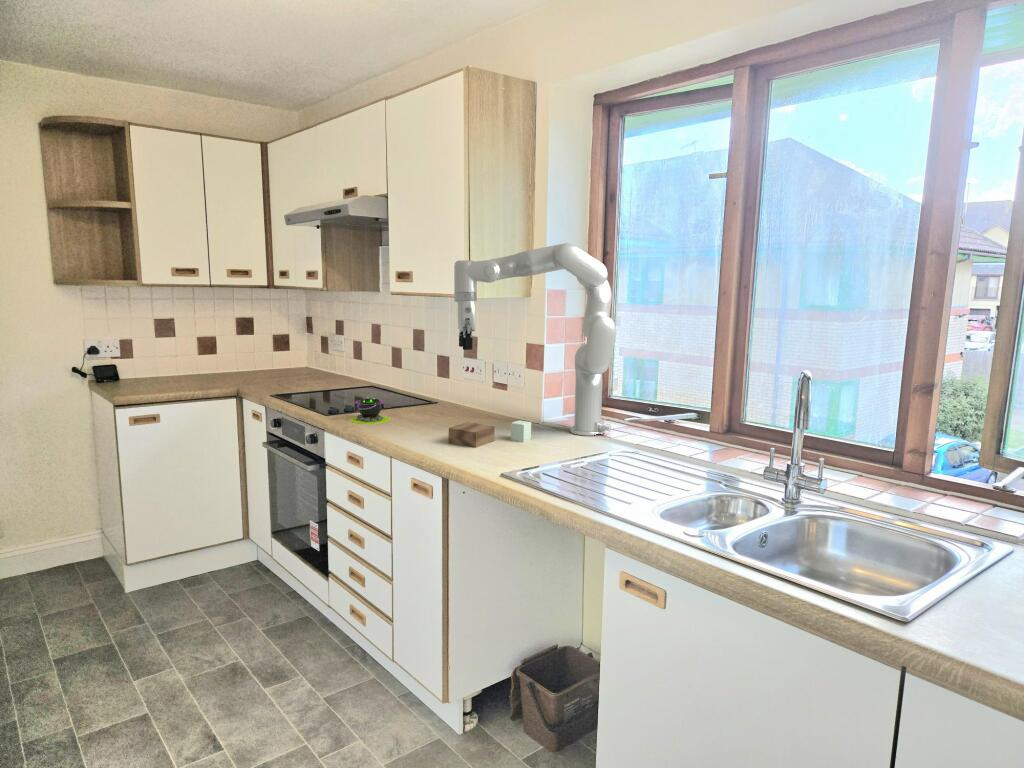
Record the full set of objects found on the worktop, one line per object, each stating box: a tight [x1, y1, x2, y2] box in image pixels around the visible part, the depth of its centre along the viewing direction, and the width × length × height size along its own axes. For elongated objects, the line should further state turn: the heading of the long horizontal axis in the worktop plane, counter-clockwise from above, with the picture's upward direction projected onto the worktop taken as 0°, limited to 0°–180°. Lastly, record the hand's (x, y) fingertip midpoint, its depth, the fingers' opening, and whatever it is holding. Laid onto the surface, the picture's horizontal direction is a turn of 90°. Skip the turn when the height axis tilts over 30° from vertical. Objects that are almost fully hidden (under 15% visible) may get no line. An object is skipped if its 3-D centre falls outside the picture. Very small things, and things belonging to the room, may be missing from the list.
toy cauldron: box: [350, 393, 391, 425], centre depth 254 cm, size 15×15×11 cm
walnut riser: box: [448, 421, 496, 448], centre depth 223 cm, size 11×11×5 cm
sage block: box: [510, 420, 532, 443], centre depth 227 cm, size 5×5×6 cm
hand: (465, 348), depth 227 cm, fingers open, 9 cm apart
